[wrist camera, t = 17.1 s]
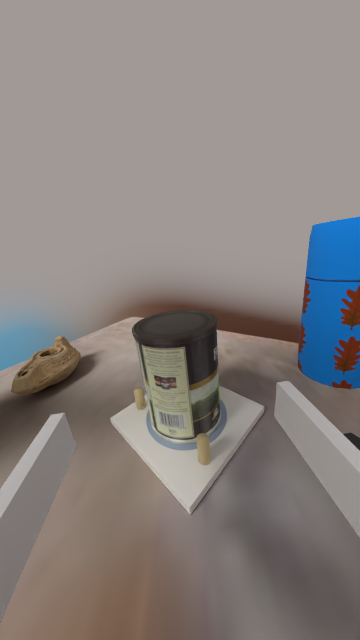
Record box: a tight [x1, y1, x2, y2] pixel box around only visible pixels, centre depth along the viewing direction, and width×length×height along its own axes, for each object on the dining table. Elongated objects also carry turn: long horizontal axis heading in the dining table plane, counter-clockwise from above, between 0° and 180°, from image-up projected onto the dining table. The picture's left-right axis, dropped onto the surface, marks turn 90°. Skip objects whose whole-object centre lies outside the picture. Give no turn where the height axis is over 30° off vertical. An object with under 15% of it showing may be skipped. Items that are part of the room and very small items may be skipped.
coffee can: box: [132, 310, 221, 444], centre depth 26 cm, size 10×10×14 cm
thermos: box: [298, 217, 360, 389], centre depth 32 cm, size 11×11×25 cm
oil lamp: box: [11, 336, 80, 394], centre depth 41 cm, size 11×15×8 cm
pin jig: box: [110, 371, 264, 515], centre depth 28 cm, size 16×16×4 cm
